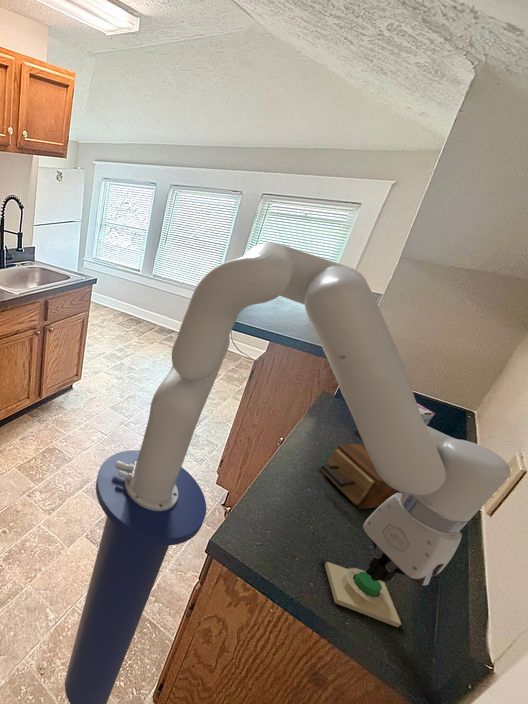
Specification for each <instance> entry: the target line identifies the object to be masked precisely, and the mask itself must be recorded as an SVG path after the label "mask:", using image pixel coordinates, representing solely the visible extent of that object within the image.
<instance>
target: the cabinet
mask: <svg viewBox="0 0 528 704" xmlns="http://www.w3.org/2000/svg"><path fill="white" fill-rule="evenodd" d="M338 449H339V450H340V451H341V452H342V453H344V454H346V455H347V456H348V457H349V458H350V459H351V460H352V461H354V462H355V463H356V464H357V465H358V466H359V467H360V468H361V469H363V470H364V471H365V472H366V473H367V474H368V475H369V476H370V477H372V478H373V479H374V480H375V483H374V484H373V485H372V487H371V488H370V490H369V491H368V492H367V494H366V495H365V497H364V498H363V499H362V501H361V502H360V504H356V505H355V506H356V507H357V508H358V509H360V510H362V509H363V510H364V509H375V508H376V509H377V508H378V507H379V506H380V505H381V504H382V503H383V502H385V501H386V500H387V499H388V498H390V497H391V496H392V495H394V494H395V493H402V492H400V491H398V490H396V489H394V488H392V487H390V486H389V485H388V484H386V483H385V482H384V481H383V480H382V479H381V478H380V476H379V475H378V473H377V471H376V469H375V467H374V465H373V463H372V460H371V458H370V456H369V454H368V452H367V450H366V447H365V445H364V443H358V444H357V443H356V444H338V445H337V447H336V449H335V450H338Z"/></svg>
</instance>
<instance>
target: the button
mask: <svg viewBox="0 0 528 704" xmlns="http://www.w3.org/2000/svg"><path fill="white" fill-rule="evenodd" d="M354 581H355V584H356V586H357V587H358V588H359V589H360V590H361V591H362V592H364V593H365V594H367V595H369V596H376V595H377V594H378V593H379V592H380V591H381V590H382V586H381V584H380V582H379V581H380V580H379V581H373V580H372V578H371V576H370V575H368V574H367V573H366V572H360V573H359V574H358V575H357V576H356V577H355V579H354Z"/></svg>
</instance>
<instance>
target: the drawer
mask: <svg viewBox="0 0 528 704" xmlns="http://www.w3.org/2000/svg"><path fill="white" fill-rule="evenodd" d="M320 468H321V469H322V470H321V473H323V474H324V475H325V476H326V477H327V478H328V479H329V480H330V481H331V482H332V483H333V484H334V485H335V486H336V487H337V488H338V489H339V490H340V491H341V493H343V494H344V495H345V496H346V497H347V498H348V500H350V501H351V502H352V503H353V504H354V505H355V506H356V504H360V502H361V501H362V499H363V498H364V497H365V495H366V494H367V492H368V491H369V490H370V488H371V487H372V485H373V484H374V483H375V480H374V479H373V478H372V477H370V476H369V475H368V474H367V473H366V472H365V471H364V470H363V469H361V468H360V467H359V466H358V465H357V464H356V463H355V462H354V461H352V460H351V459H350V458H349V457H348V456H347V455H346V454H344V453H342V452H341V451H340V450H339V449H338V450H336V449H334V451H333V453H332V454H331V456H330V457H329V459H328V460H327V462H326V463H325V464H322V466H321V467H320Z"/></svg>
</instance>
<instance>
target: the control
mask: <svg viewBox="0 0 528 704" xmlns="http://www.w3.org/2000/svg"><path fill="white" fill-rule="evenodd" d="M324 568H325V572H326V575H327V579H328V582H329V586H330V589H331V593H332V598H333V600H334V603H335V604H336V605H339V606H341V607H344V608H347V609H349V610H351V611H354V612H357V613H360V614H363V615H365V616H368V617H370V618H372V619H375V620H377V621H380V622H383V623H385V624H388V625H391V626H393V627H396V628H399V627H400V626H402V622H401V619H400V616H399V615H398V612H397V610H396V607H395V605H394V602H393V599H392V597H391V595H390V592H389V590H388V587H387V585H386V582H383V580H379V582H380V584H381V586H382V590H381V591H380V592H379V593H378V594H377V595H376V596H369V595H367V594H365V593H364V592H362V591H361V590H360V589H359V588H358V587H357V586H356V584H355V581H354V579H355V577H356V576H357V575H358V574H359V573H360V572H366V571H367V570H366V571H365V570H363V569H361V568H357V567H351V568H346V567H344V566H341V565H338V564H335V563H332V562H329V561H326V562H325V563H324Z"/></svg>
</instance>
